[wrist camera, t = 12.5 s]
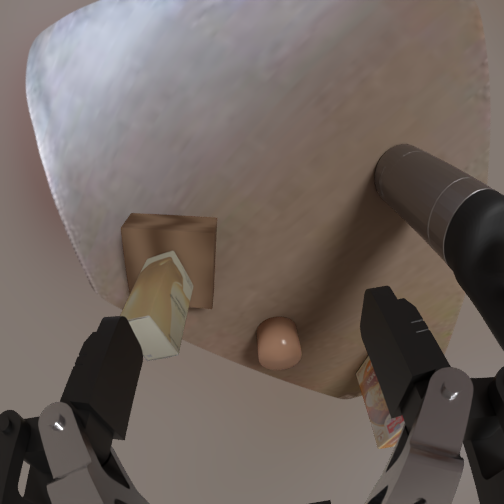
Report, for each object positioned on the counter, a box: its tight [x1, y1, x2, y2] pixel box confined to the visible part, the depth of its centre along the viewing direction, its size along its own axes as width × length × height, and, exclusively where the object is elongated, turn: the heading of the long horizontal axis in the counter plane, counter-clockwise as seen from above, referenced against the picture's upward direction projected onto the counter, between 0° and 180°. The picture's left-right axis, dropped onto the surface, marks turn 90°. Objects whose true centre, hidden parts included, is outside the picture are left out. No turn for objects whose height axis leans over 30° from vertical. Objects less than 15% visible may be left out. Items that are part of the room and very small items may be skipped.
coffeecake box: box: [356, 356, 405, 449], centre depth 49 cm, size 15×7×20 cm, turn 167°
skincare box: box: [120, 251, 193, 361], centre depth 34 cm, size 6×4×12 cm
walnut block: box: [121, 213, 217, 309], centre depth 41 cm, size 12×12×5 cm
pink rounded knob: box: [257, 317, 302, 370], centre depth 49 cm, size 7×7×6 cm
